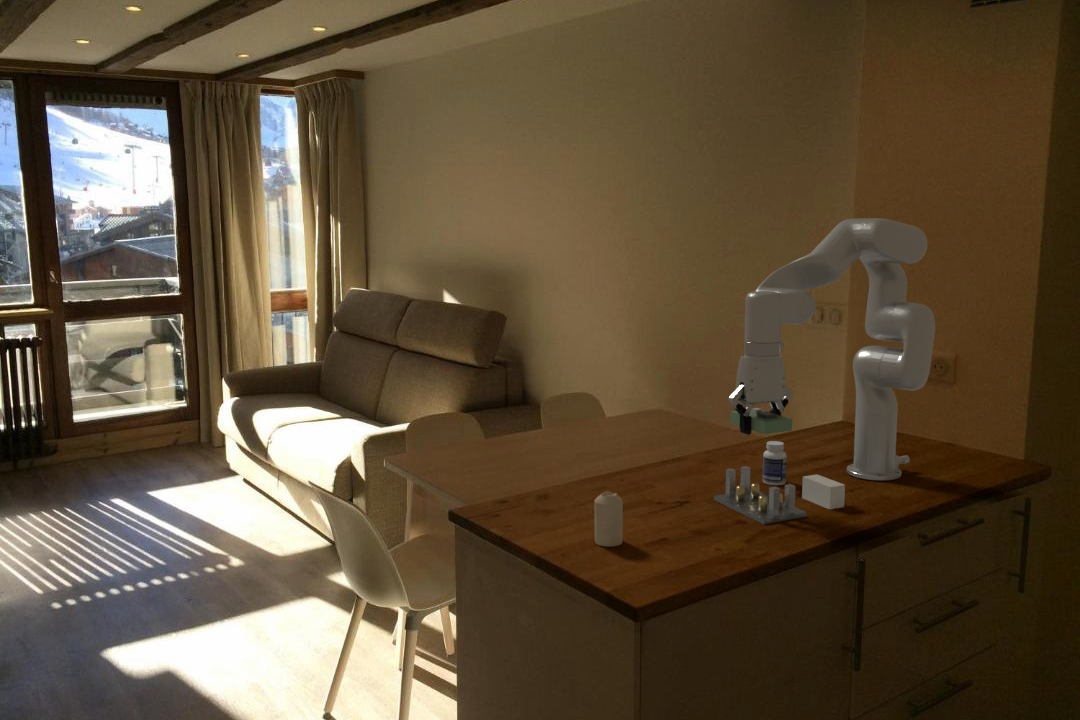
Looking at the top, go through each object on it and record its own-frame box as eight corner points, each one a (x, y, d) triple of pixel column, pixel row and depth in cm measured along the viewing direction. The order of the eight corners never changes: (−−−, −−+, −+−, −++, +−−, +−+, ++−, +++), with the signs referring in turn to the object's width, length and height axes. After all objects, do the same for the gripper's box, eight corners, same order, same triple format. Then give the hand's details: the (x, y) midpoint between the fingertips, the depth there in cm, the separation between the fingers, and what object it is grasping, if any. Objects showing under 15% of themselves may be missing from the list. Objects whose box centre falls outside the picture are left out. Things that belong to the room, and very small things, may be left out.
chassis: (754, 493, 207) (754, 464, 205) (806, 516, 190) (807, 484, 189) (713, 500, 202) (714, 470, 201) (763, 524, 186) (764, 491, 185)
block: (816, 495, 204) (816, 474, 203) (844, 506, 196) (844, 484, 195) (802, 498, 203) (802, 476, 202) (829, 509, 194) (830, 487, 194)
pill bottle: (786, 486, 212) (787, 446, 210) (763, 485, 213) (764, 445, 211) (785, 479, 217) (786, 440, 215) (762, 479, 218) (763, 439, 216)
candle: (592, 537, 180) (592, 489, 178) (620, 536, 180) (620, 488, 179) (596, 547, 174) (596, 498, 173) (624, 546, 175) (624, 496, 173)
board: (756, 419, 200) (757, 404, 200) (791, 430, 189) (792, 415, 189) (730, 422, 197) (730, 407, 197) (764, 434, 186) (765, 418, 186)
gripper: (784, 344, 198) (781, 424, 200) (717, 350, 191) (716, 432, 194) (806, 349, 191) (804, 431, 193) (738, 354, 184) (737, 439, 187)
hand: (760, 430), depth 193 cm, fingers closed on board, 7 cm apart
